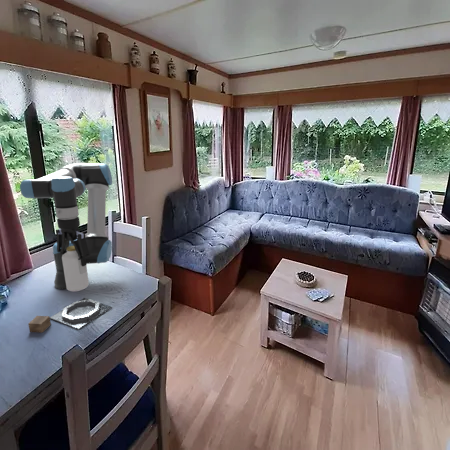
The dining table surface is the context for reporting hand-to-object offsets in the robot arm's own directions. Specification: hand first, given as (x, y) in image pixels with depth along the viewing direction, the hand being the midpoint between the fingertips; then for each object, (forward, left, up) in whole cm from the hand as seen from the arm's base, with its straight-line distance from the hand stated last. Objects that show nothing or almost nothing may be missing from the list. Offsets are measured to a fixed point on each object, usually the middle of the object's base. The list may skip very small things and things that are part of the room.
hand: (75, 270), depth 113 cm
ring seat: (0, 0, -20) cm, 20 cm away
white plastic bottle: (0, 0, -8) cm, 8 cm away
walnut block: (-6, -14, -20) cm, 25 cm away
